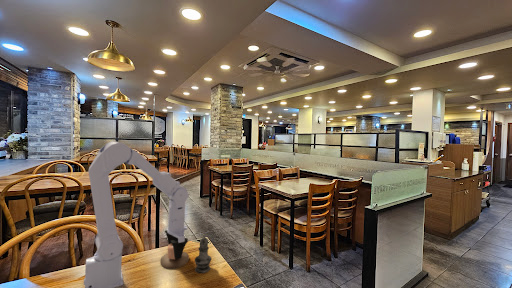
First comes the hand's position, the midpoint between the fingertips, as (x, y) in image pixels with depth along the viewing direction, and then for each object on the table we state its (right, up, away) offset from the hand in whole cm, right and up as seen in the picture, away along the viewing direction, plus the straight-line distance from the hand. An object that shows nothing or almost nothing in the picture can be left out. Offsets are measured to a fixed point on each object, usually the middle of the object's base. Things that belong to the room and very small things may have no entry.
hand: (175, 253), depth 82 cm
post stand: (0, -3, 0) cm, 3 cm away
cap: (0, -1, 0) cm, 1 cm away
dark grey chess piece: (+11, -4, -4) cm, 13 cm away
